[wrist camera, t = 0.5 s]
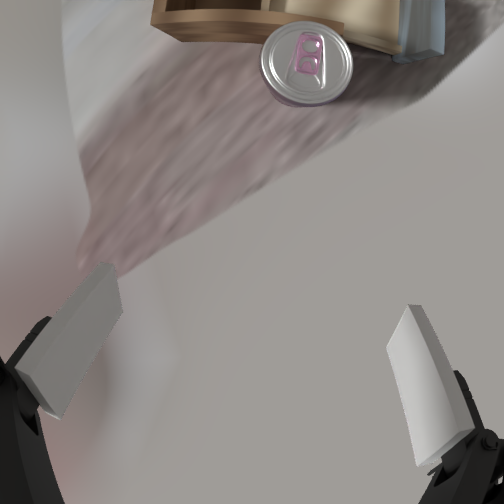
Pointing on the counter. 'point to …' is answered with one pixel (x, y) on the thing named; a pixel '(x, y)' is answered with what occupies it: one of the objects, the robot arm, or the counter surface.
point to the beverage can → (305, 64)
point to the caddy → (224, 20)
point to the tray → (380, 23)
